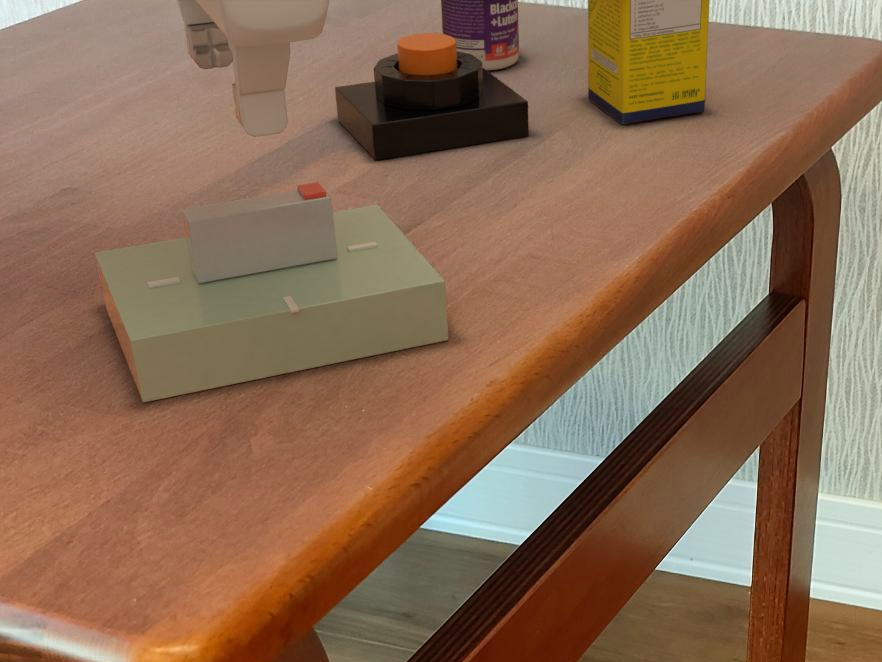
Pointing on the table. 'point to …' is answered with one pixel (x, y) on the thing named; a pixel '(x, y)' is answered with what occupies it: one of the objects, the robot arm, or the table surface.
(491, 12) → the pill bottle
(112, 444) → the table surface
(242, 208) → the red-button grey box
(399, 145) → the button block
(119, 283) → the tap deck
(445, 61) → the button
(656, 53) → the supplement box
